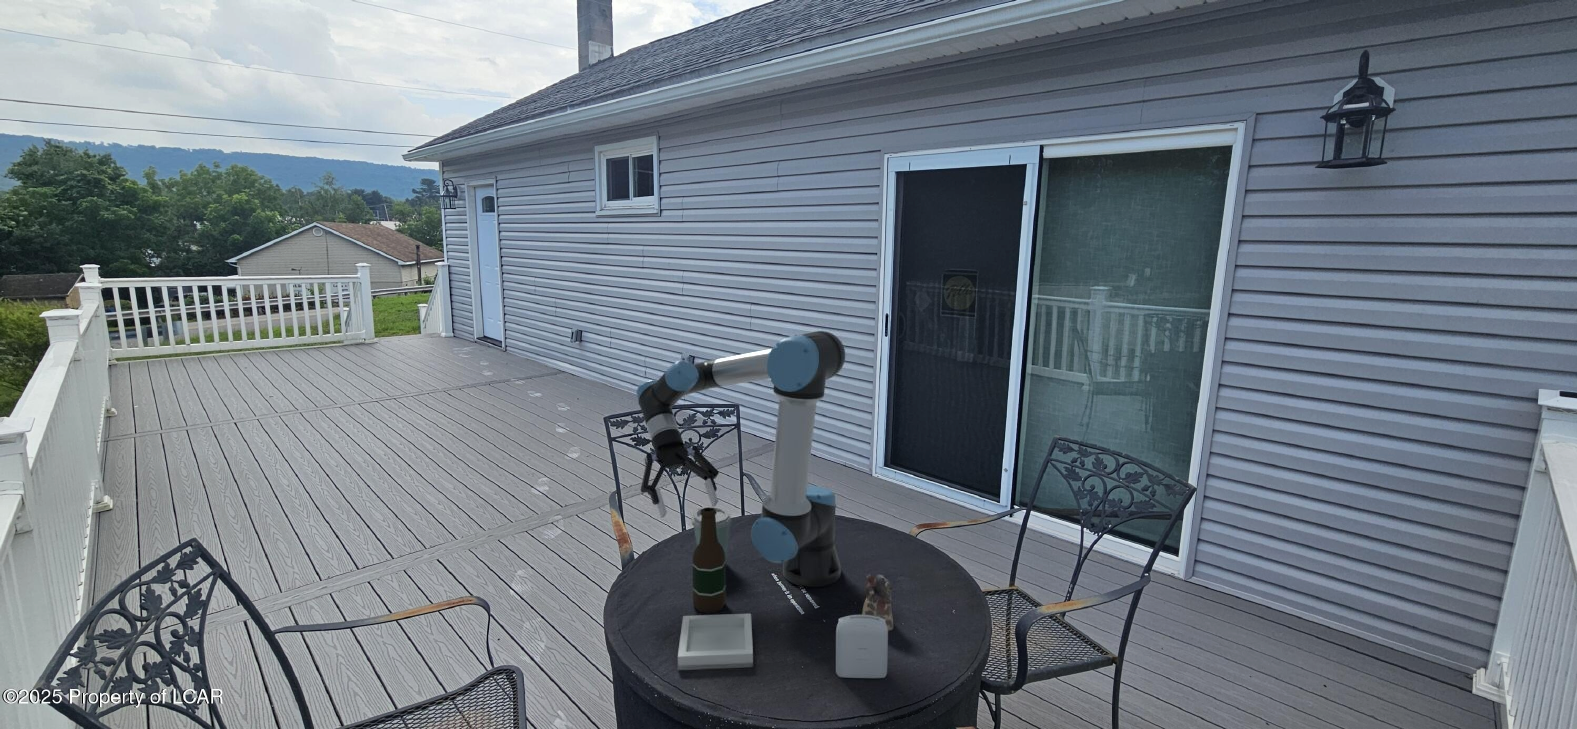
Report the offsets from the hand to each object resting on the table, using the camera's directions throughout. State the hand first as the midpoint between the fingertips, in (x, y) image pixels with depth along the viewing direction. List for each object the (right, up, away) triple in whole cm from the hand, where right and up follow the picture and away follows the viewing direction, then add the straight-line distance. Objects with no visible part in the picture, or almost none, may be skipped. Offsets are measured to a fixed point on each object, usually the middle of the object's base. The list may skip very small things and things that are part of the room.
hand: (690, 509), depth 163 cm
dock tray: (+9, -25, -21) cm, 33 cm away
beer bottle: (+5, -22, -4) cm, 23 cm away
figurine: (+44, -24, -12) cm, 51 cm away
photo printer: (+38, -27, -29) cm, 55 cm away
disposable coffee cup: (+4, -18, +15) cm, 24 cm away
